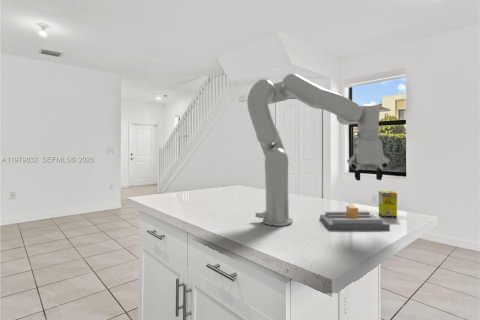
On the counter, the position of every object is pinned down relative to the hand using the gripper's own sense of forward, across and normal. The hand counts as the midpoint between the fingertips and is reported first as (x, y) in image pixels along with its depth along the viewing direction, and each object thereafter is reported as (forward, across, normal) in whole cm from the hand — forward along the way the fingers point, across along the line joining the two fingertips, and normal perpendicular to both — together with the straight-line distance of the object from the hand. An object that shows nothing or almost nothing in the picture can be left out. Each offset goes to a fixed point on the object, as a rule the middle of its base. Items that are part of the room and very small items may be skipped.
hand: (368, 179), depth 110 cm
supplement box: (+18, +13, +13) cm, 26 cm away
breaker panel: (+18, -7, 0) cm, 19 cm away
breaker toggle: (+16, -7, 0) cm, 17 cm away
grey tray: (+16, -7, 0) cm, 17 cm away
